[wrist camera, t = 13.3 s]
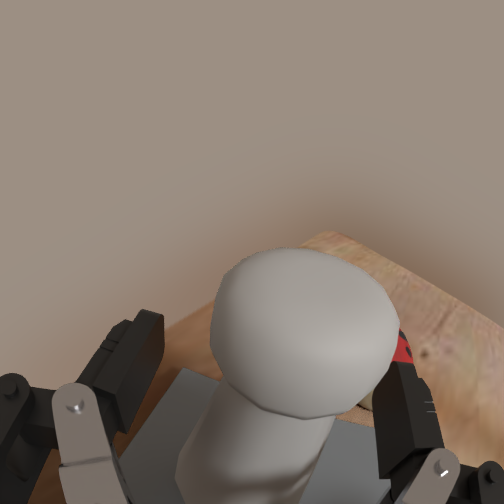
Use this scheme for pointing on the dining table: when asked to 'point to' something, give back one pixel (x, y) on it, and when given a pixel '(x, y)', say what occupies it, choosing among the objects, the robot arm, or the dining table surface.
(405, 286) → the dining table surface
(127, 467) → the cutting board
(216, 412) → the salt shaker
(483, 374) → the dining table surface
